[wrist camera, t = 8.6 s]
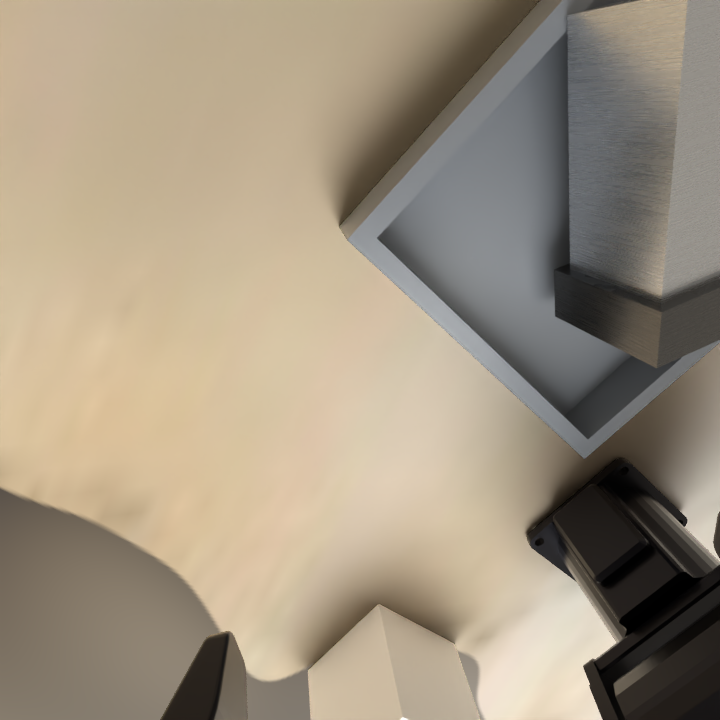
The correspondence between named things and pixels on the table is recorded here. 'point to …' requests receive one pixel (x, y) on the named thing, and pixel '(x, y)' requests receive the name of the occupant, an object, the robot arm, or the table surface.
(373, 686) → the beige cube
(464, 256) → the tray
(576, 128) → the strut
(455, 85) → the table surface
